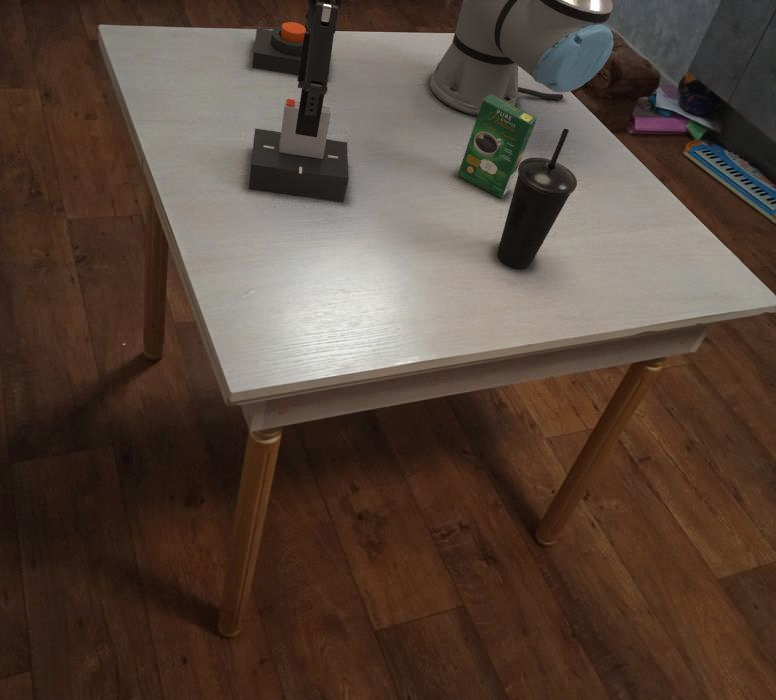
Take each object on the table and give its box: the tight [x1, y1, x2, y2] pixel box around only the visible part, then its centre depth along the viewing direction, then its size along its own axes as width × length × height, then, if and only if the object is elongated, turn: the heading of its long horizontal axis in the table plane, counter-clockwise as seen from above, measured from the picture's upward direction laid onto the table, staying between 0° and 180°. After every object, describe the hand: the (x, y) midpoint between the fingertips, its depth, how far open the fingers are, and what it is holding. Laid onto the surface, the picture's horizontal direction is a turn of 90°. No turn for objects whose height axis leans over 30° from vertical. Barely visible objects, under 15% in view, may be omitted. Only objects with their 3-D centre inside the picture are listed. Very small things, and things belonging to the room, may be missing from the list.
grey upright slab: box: [279, 98, 332, 159], centre depth 111 cm, size 6×2×7 cm, turn 93°
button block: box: [251, 25, 309, 76], centre depth 138 cm, size 12×9×4 cm
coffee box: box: [457, 94, 538, 199], centre depth 120 cm, size 8×3×13 cm, turn 58°
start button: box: [281, 21, 306, 43], centre depth 136 cm, size 4×4×2 cm
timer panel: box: [248, 127, 350, 203], centre depth 114 cm, size 13×10×4 cm
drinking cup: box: [496, 128, 578, 270], centre depth 106 cm, size 8×8×20 cm
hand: (306, 107), depth 108 cm, fingers open, 13 cm apart
